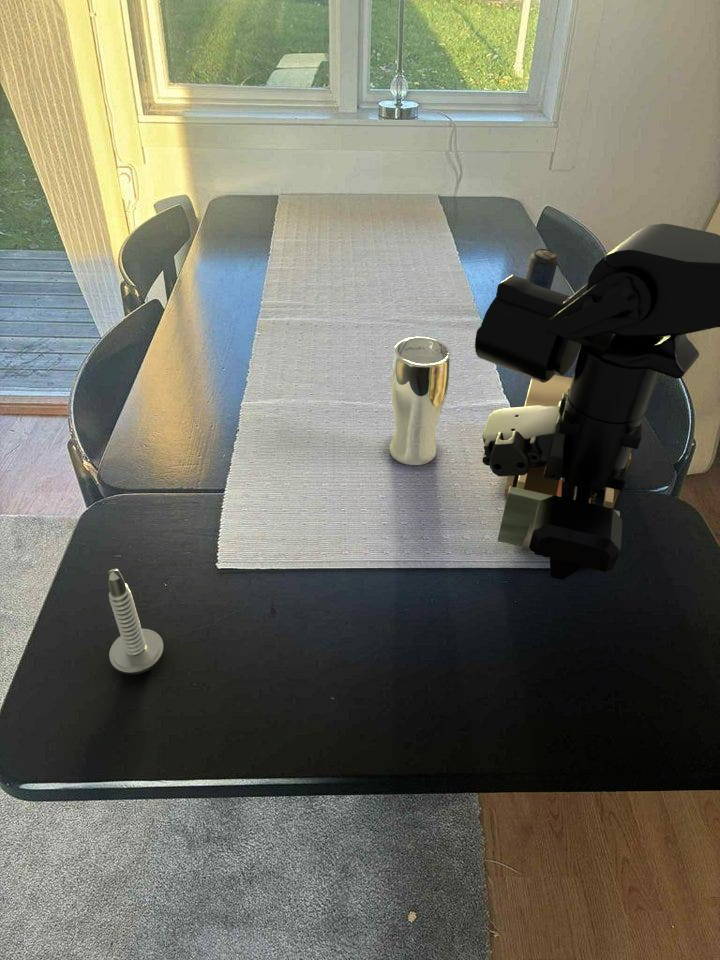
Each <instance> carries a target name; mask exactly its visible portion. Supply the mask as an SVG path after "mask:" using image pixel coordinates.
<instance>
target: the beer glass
mask: <svg viewBox="0 0 720 960" xmlns="http://www.w3.org/2000/svg"><path fill="white" fill-rule="evenodd" d="M451 353H452V352H451V349H450V348H449V347H448V345H447V344H446V343H444V342H442V341H440V340H438V339H436V338H431V337H425V336H413V337H408V338H405V339H403V340H401V341H399V342H397V344H396V345H395V346H394V353H393V361H392V366H391V374H390V399H391V408H392V415H393V433H392V434H393V435H392V437H391V440H390V443H389V452H390V455H391V457H392V458H393V459H394V460H395V461H397V462H398V463H401V464H404V465H407V466H422V465H425V464H428V463H430V462H431V461H433V460H434V458H435V457H436V454H437V443H436V431H437V426H438V423H439V420H440V417H441V415H442V411H443V409H444V407H445V402H446V398H447V395H448V389H449V385H450V384H449V381H450V372H451V371H450V369H451Z"/></svg>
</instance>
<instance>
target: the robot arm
mask: <svg viewBox="0 0 720 960" xmlns="http://www.w3.org/2000/svg"><path fill="white" fill-rule="evenodd" d="M717 328H720V234H717V233H715V232H710V231H705V230H700V229H695V228H690V227H687V226H686V227H685V226H681V225H675V224H671V223H657V224H649V225H646V226H644V227H642V228H640V229H639V230H637V231H635V232H634V233H633V234H631V235H630V236H629V237H627V238H626V239H625V240H624V241H623V242H621V243H619V244H618V246H615V248H614V249H612V250H610V252H608V253H607V254H605V256H603V257H602V258H601V259H600V260H599V261H598V262H597V263H596V264H595V265H594V267H593V269H592V270H591V272H590V274H589V276H588V279H587V283H586V284H585V285H583V286H582V287H581V288H580V289H579V290H577V291H576V292H575V293H574V294H573V295H567V294H565V293H561V292H559V291H556V290H553V289H551V290H550V289H546V288H543V287H540V286H537V285H535V284H533V283H531V282H529V281H528V280H526V279H525V278H524V277H521V276H517V275H514V274H511V275H510V276H508V277H507V278H505V279H504V280H502V281H501V282H499V283H498V284H497V289H496V294H495V297H494V298H493V299H492V301H491V303H490V304H489V306H488V308H487V310H486V312H485V314H484V316H483V319H482V322H481V325H480V327H478V328H477V330H476V333H475V340H474V351H475V354H476V356H477V358H479V359H481V360H484V361H487V362H489V363H491V364H493V365H496V366H499V367H500V368H501V367H502V368H504V369H506V370H509V371H512V372H514V373H517V374H519V375H522V376H525V377H527V378H530V379H535V380H537V381H540V382H542V383H545V382H547V381H549V380H550V379H551V378H552V377H553V376H554V375H558V376H564V375H566V374H567V373H568V372H569V371H570V369H571V368H572V366H573V365H574V363H575V361H576V363H575V367H574V371H573V375H572V377H571V378H572V382H571V385H570V389H568V392H567V394H566V393H563V396H562V399H561V401H560V402H559V406H558V407H544V406H526V407H524V406H517V407H505V408H499V409H495V410H493V411H492V412H491V413H490V414H489V415H488V417H487V421H486V424H485V427H484V430H483V433H482V436H481V437H482V440H483V450H484V453H483V456H482V464H483V465H485V466H487V467H489V469H490V471H491V472H492V473H493V474H494V475H496V476H497V477H508V476H519V475H525V474H527V472H528V471H529V469H532V468H539V467H542V466H544V465H545V464H546V468H545V472H544V477H545V478H550V479H554V480H560V479H561V481H562V491H561V497H559V496H555V495H553V496H551V497H548V498H546V499H543V500H541V501H539V504H538V508H537V512H536V516H535V520H534V525H533V529H532V534H531V539H530V544H529V548H530V549H531V551H532V552H531V553H533V554H534V555H536V556H539V557H543V558H547V559H549V568H550V569H549V574H550V577H551V578H552V579H556V580H560V581H561V580H562V581H564V580H565V579H567V578H568V577H570V576H571V575H574V574H575V573H576V572H577V571H580V570H581V569H582V568H588V569H591V570H596V571H599V572H603V573H607V572H609V571H611V570H613V569H615V566H616V563H617V561H618V559H619V556H620V553H621V548H622V534H623V531H622V530H623V519H622V518H621V517H619V516H618V514H617V513H616V512H615V510H616V509H614V508H613V509H612V508H608V507H604V503H605V493H606V487H607V488H612V489H616V490H619V491H622V492H623V490H624V488H625V484H626V482H627V472H628V469H627V466H626V465H627V462H628V460H629V457H630V454H631V455H632V451H633V449H635V450H638V449H639V446H640V444H641V440H642V436H643V435H642V433H643V421H644V418H645V415H646V412H647V410H648V407H649V405H650V401H651V399H652V395H653V392H654V390H655V388H656V384H657V382H658V379H659V377H660V374H662V375H665V376H667V377H670V378H674V379H676V380H677V379H679V380H680V379H682V378H683V377H684V376H685V374H687V372H688V371H689V369H690V368H691V367H692V366H693V364H694V363H695V362H697V359H699V358H700V352H699V350H698V348H696V346H695V345H694V344H693V342H692V341H691V340H689V338H688V337H687V334H692V333H693V334H694V333H697V332H702V331H707V330H711V329H717ZM576 359H577V360H576ZM590 498H591V503H589V499H590Z"/></svg>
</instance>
